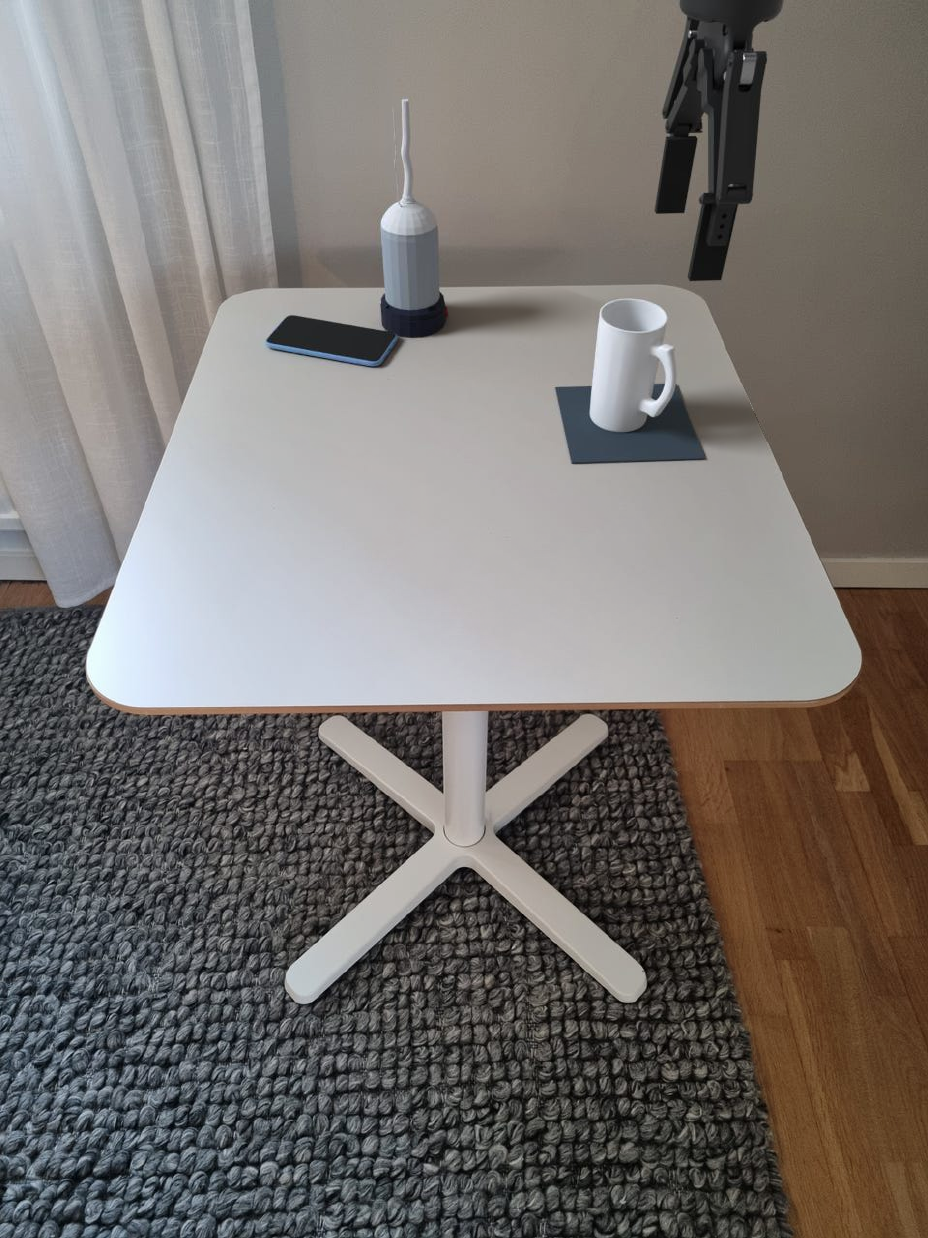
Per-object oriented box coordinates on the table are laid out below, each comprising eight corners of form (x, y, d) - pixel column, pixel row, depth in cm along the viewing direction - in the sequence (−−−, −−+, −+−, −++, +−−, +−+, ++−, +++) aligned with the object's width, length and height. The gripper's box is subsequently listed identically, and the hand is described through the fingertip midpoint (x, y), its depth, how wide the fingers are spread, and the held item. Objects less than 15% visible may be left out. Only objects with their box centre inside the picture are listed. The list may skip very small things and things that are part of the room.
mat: (704, 459, 91) (705, 458, 91) (571, 463, 90) (571, 462, 90) (675, 384, 100) (676, 383, 100) (555, 388, 100) (555, 386, 100)
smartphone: (378, 362, 102) (261, 342, 105) (378, 369, 102) (262, 348, 105) (400, 331, 106) (287, 312, 109) (400, 337, 107) (288, 318, 110)
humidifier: (459, 318, 110) (458, 98, 92) (416, 344, 106) (406, 119, 87) (411, 298, 114) (401, 82, 95) (367, 323, 109) (348, 102, 91)
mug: (574, 412, 96) (585, 311, 87) (618, 391, 99) (633, 291, 90) (638, 457, 91) (658, 354, 82) (683, 434, 93) (706, 332, 84)
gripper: (653, -83, 71) (619, 188, 86) (735, -9, 54) (675, 312, 69) (744, -84, 71) (694, 187, 87) (854, -11, 54) (767, 310, 70)
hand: (685, 243), depth 78 cm, fingers open, 13 cm apart
